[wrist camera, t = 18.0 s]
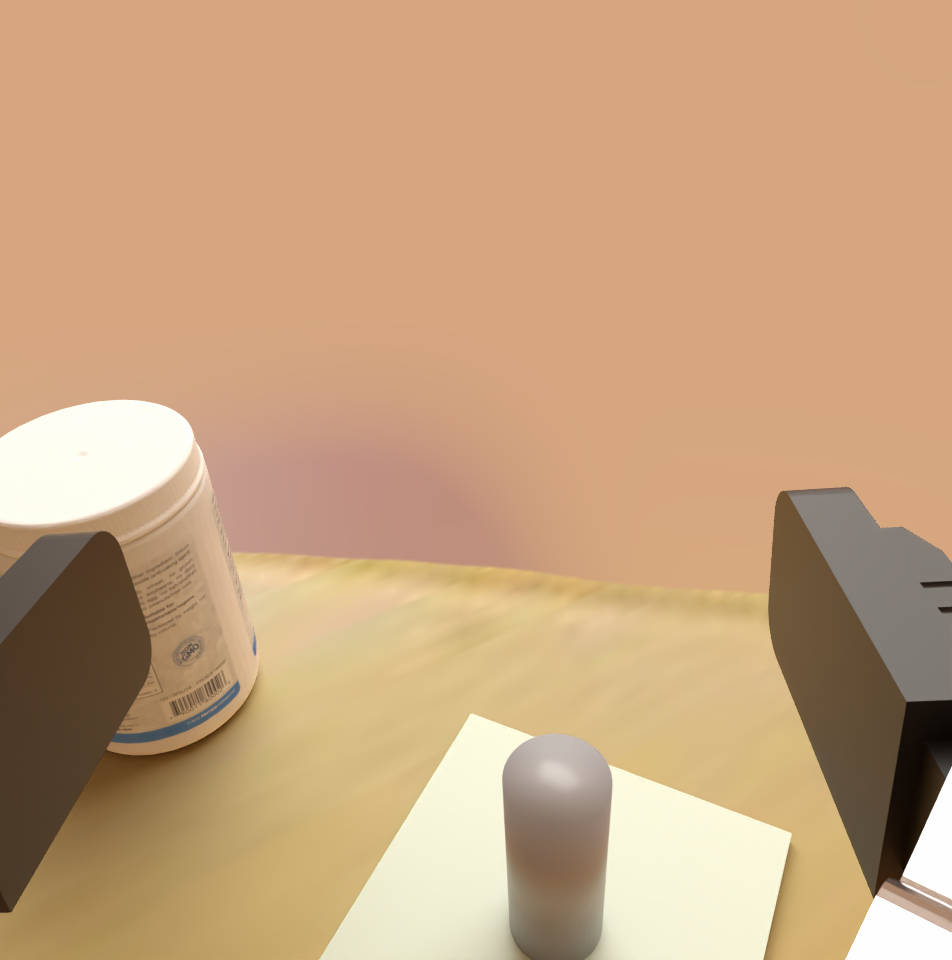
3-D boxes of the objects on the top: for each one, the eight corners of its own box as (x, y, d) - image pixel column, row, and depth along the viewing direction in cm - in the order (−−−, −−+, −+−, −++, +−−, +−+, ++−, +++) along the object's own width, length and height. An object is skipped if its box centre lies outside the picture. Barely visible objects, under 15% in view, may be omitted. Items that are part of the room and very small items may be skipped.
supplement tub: (120, 618, 49) (29, 394, 40) (284, 621, 48) (226, 393, 40) (39, 763, 41) (-96, 524, 33) (232, 770, 40) (146, 526, 32)
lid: (288, 1030, 32) (228, 885, 26) (472, 726, 42) (459, 575, 37) (691, 1269, 26) (733, 1151, 20) (787, 846, 37) (833, 689, 31)
